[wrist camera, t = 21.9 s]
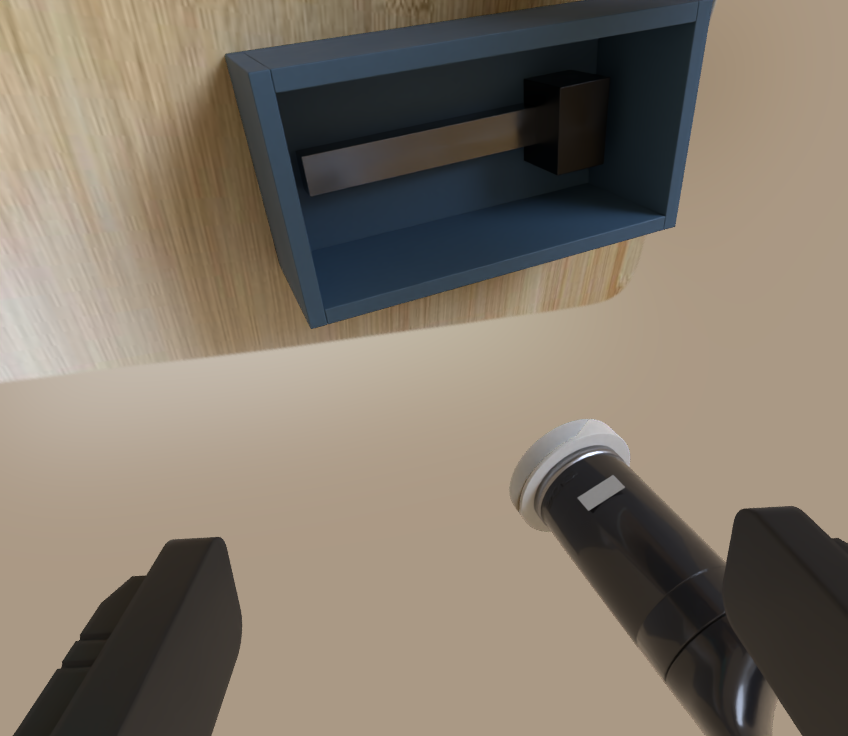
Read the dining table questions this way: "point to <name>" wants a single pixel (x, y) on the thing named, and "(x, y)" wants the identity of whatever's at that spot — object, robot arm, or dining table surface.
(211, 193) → the dining table surface
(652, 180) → the bin
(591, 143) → the grey mallet
